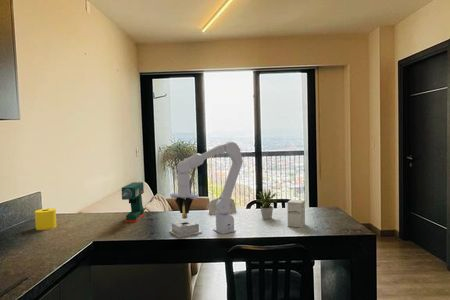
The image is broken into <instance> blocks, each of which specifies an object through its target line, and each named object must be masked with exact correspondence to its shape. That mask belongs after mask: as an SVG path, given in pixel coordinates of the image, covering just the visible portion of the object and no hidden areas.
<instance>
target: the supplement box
mask: <svg viewBox="0 0 450 300" xmlns="http://www.w3.org/2000/svg"><path fill="white" fill-rule="evenodd" d="M305 202H306V200H303V199H290V200H289V201H287V227H294V228H295V227H296V228H303V227H304V226H305V225H306V210H305V209H306V205H305V204H306V203H305Z"/></svg>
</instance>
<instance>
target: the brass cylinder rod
mask: <svg viewBox="0 0 450 300" xmlns="http://www.w3.org/2000/svg"><path fill="white" fill-rule="evenodd" d="M181 214H182V215H181V216H182V219H188V213H187V214H186V213H185V204H184V201H183V202H182V213H181Z"/></svg>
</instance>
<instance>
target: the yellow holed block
mask: <svg viewBox="0 0 450 300" xmlns="http://www.w3.org/2000/svg"><path fill="white" fill-rule="evenodd" d="M56 211H57V210H56V208H53V207H51V208H41V209H37V210H35V211H34V215H35V216H34V218H35V219H34V220H35V230H37V231H44V230H52V229H54V228H56V227H57V213H56Z"/></svg>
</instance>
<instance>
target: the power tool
mask: <svg viewBox="0 0 450 300" xmlns="http://www.w3.org/2000/svg"><path fill="white" fill-rule="evenodd" d="M144 189H145V188H144V182H142V181H140V182H131V183H129V184H126V185H124V186H122V187H121V200H122V201H123V200H125V201H126V200H128V204H130V210H131V211H130V212H128V213H127V214H126V215H125V218H126V219H125V220H124V222H125V223H137V222H139V220H140V218H141V219H142V218H143V217H144V216H145V214H146V213H145V211H144V206H143V198H142V195H143V194H144V193H145V190H144Z"/></svg>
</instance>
